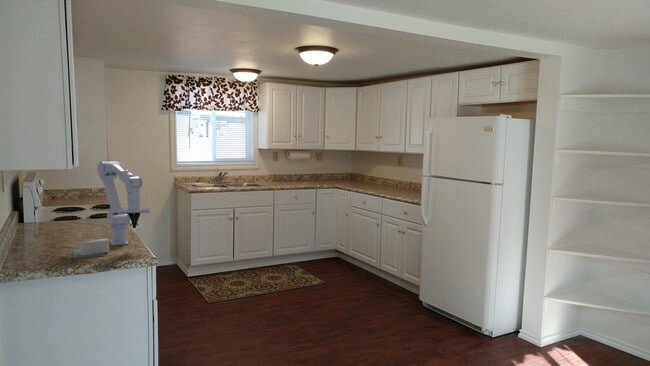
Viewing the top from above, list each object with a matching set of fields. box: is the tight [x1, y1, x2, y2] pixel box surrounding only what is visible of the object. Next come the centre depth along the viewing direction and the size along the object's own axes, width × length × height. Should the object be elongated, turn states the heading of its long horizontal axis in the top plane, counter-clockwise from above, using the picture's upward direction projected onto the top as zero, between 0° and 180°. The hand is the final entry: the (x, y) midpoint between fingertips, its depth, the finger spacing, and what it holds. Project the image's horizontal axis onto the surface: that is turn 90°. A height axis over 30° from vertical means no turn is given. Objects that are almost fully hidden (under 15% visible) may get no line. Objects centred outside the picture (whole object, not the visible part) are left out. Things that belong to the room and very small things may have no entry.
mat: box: [72, 248, 106, 260], centre depth 221 cm, size 18×13×1 cm
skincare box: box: [79, 238, 110, 256], centre depth 219 cm, size 6×4×12 cm
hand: (134, 227), depth 231 cm, fingers closed
